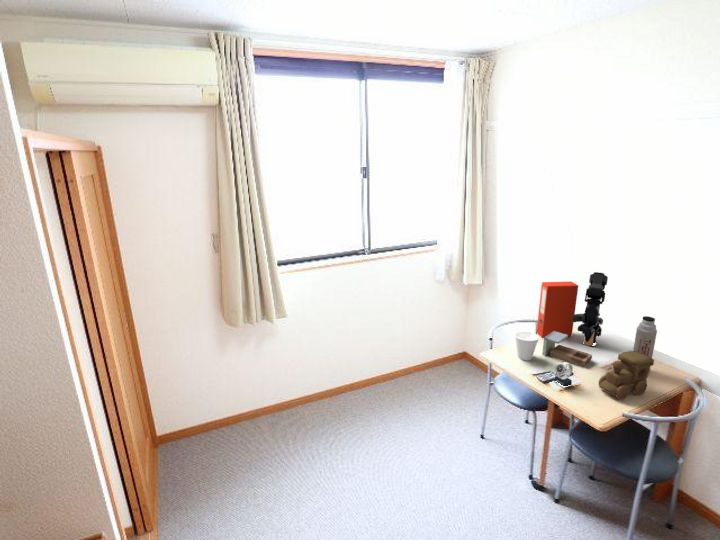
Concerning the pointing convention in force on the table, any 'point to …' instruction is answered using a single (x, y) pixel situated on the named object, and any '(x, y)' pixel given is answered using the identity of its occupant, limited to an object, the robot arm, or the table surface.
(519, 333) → the cup
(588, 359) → the socket block
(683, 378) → the table surface
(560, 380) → the watch
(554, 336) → the awning
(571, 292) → the file binder
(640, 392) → the wooden toy train
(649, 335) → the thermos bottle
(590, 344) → the peg
